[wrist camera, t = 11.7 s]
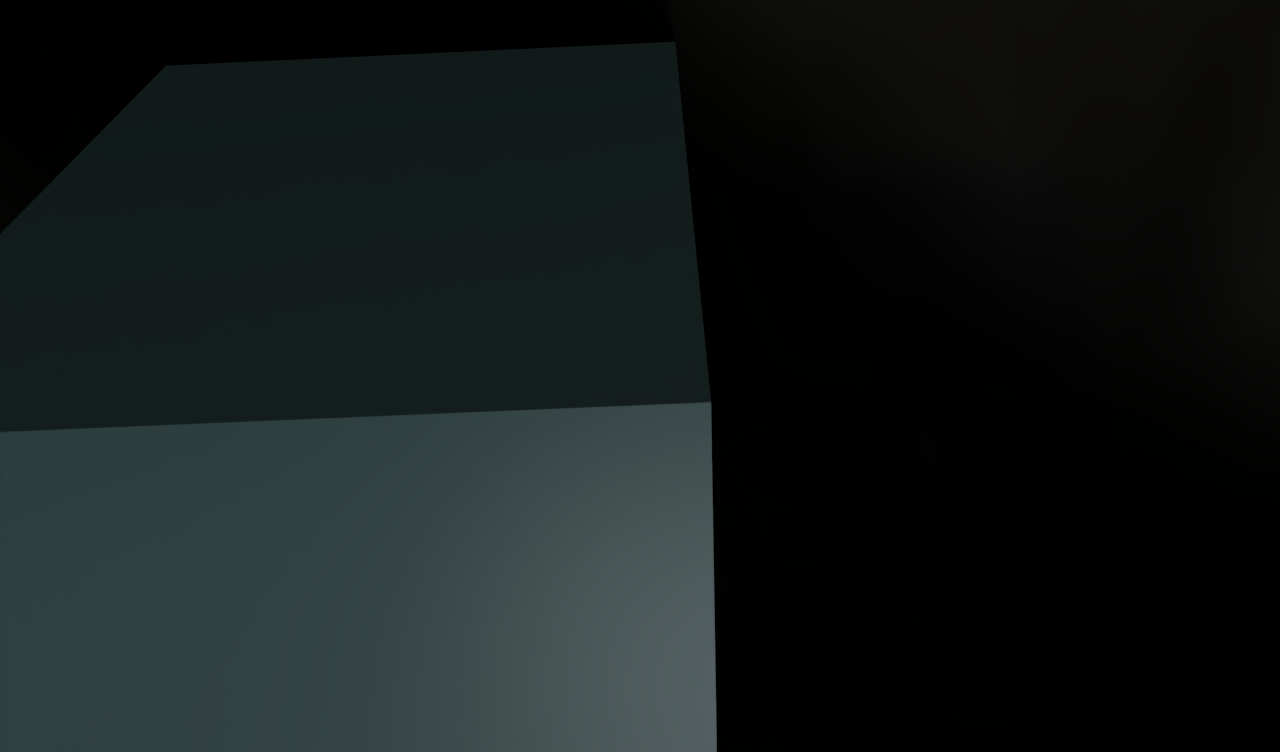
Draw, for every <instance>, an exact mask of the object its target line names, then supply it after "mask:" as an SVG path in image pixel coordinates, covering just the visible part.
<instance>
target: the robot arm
mask: <svg viewBox="0 0 1280 752" xmlns="http://www.w3.org/2000/svg"><path fill="white" fill-rule="evenodd" d="M1159 655H1160V660H1161V666H1162V669H1163V673H1164V676H1165V680H1166V683H1167V686H1168V689H1169V693H1170V696H1171V699H1172V702H1173V705H1174V709H1175V712H1176V715H1177V718H1178V722H1179V725H1180V728H1181V731H1182V734H1183V738H1184V741H1185V744H1186V747H1187V751H1188V752H1280V545H1279V544H1277V543H1275V542H1274V541H1272V540H1271V539H1269V538H1267V537H1265V536H1263V535H1262V534H1260V533H1257V532H1254V531H1245V530H1242V531H1226V532H1209V533H1196V534H1192V535H1190V536H1188V537H1186V538H1185V539H1184V540H1183V541H1182V542H1181V544H1180V545H1179V547H1178V550H1177V553H1176V555H1175V560H1174V565H1173V569H1172V574H1171V578H1170V583H1169V587H1168V592H1167V597H1166V601H1165V606H1164V610H1163V615H1162V619H1161V624H1160V630H1159Z"/></svg>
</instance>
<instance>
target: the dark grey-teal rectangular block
mask: <svg viewBox="0 0 1280 752" xmlns="http://www.w3.org/2000/svg"><path fill="white" fill-rule="evenodd" d="M0 752H717V728H716V669H715V609H714V550H713V490H712V431H711V397H710V387H709V377H708V367H707V357H706V347H705V337H704V327H703V317H702V307H701V297H700V287H699V277H698V267H697V257H696V247H695V236H694V226H693V216H692V206H691V196H690V186H689V176H688V166H687V156H686V146H685V136H684V126H683V116H682V106H681V96H680V86H679V76H678V66H677V56H676V46H675V42H661V43H639V44H618V45H597V46H576V47H554V48H533V49H512V50H490V51H469V52H448V53H427V54H405V55H384V56H363V57H342V58H320V59H299V60H278V61H256V62H235V63H214V64H193V65H171V66H165V67H164V68H163V69H162V70H161V71H160V72H159V73H158V74H157V75H156V76H155V77H154V78H153V79H152V80H151V81H150V82H149V84H148V85H147V86H146V87H145V88H144V89H143V90H142V91H141V92H140V93H139V94H138V95H137V96H136V97H135V98H134V99H133V100H132V101H131V102H130V103H129V104H128V105H127V106H126V107H125V108H124V109H123V110H122V111H121V112H120V113H119V114H118V115H117V116H116V117H115V118H114V119H113V120H112V121H111V122H110V123H109V124H108V125H107V126H106V127H105V128H104V129H103V130H102V131H101V132H100V133H99V134H98V135H97V136H96V137H95V138H94V139H93V140H92V141H91V143H90V144H89V145H88V146H87V147H86V148H85V149H84V150H83V151H82V152H81V153H80V154H79V155H78V156H77V157H76V158H75V159H74V160H73V161H72V162H71V163H70V164H69V165H68V166H67V167H66V168H65V169H64V170H63V171H62V172H61V173H60V174H59V175H58V176H57V177H56V178H55V179H54V180H53V181H52V182H51V183H50V184H49V185H48V186H47V187H46V188H45V189H44V190H43V191H42V192H41V193H40V194H39V195H38V196H37V197H36V198H35V199H34V200H33V202H32V203H31V204H30V205H29V206H28V207H27V208H26V209H25V210H24V211H23V212H22V213H21V214H20V215H19V216H18V217H17V218H16V219H15V220H14V221H13V222H12V223H11V224H10V225H9V226H8V227H7V228H6V229H5V230H4V231H3V232H2V233H1V234H0Z"/></svg>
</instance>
